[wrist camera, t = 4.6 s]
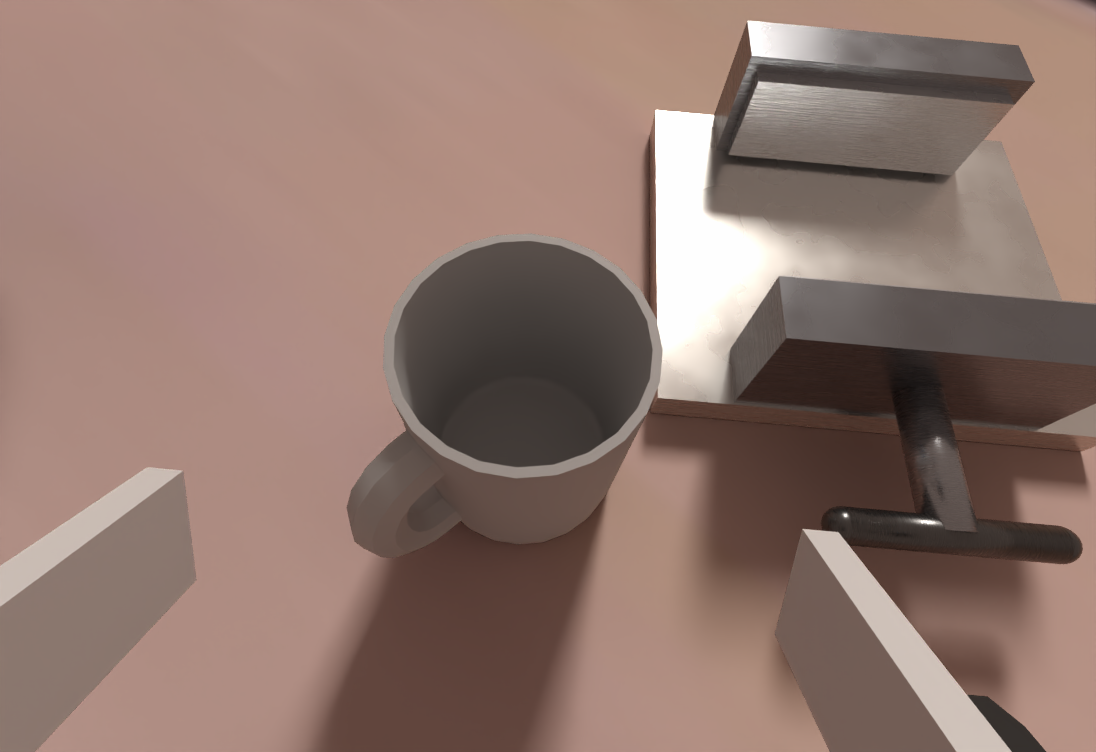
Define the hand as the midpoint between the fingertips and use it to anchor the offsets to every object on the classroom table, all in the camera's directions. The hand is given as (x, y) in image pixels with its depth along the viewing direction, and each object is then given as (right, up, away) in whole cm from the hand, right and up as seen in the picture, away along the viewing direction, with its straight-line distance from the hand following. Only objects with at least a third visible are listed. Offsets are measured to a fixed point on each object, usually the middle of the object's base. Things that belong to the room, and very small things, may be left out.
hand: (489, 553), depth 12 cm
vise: (+15, +6, +14) cm, 21 cm away
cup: (-1, 0, +10) cm, 10 cm away
